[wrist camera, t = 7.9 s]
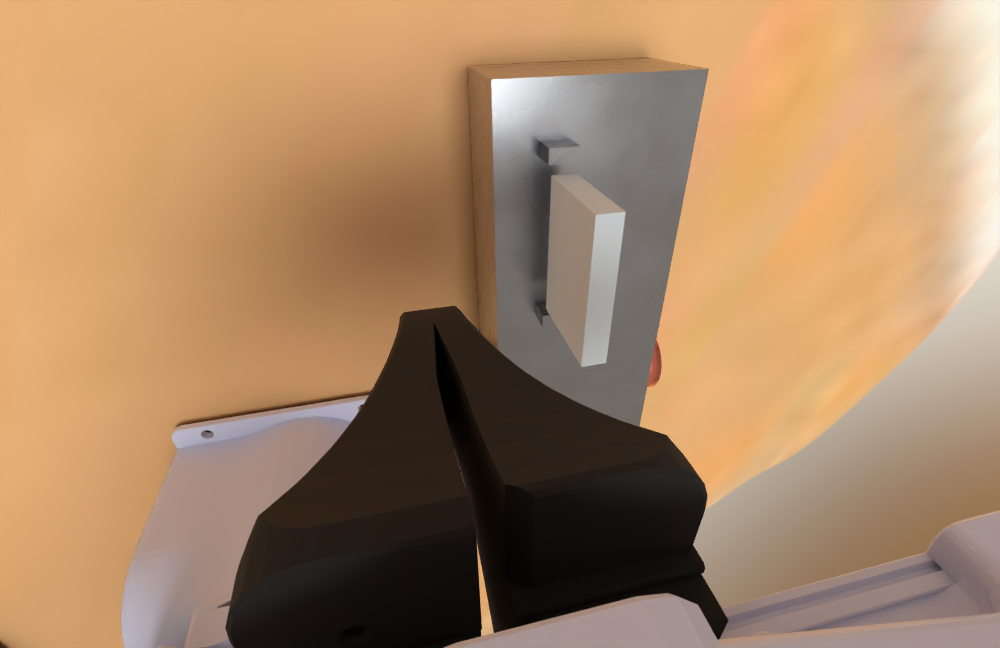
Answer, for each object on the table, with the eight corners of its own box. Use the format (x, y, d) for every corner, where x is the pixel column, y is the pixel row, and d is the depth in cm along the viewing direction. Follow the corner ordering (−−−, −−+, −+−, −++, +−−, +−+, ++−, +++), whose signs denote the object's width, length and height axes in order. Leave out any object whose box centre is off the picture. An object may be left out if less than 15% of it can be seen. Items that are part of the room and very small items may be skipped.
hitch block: (484, 429, 27) (505, 503, 23) (467, 65, 17) (499, 84, 13) (601, 407, 29) (641, 475, 24) (647, 57, 19) (728, 72, 15)
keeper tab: (546, 308, 18) (581, 367, 15) (551, 175, 15) (595, 214, 12) (567, 305, 18) (606, 362, 15) (576, 172, 15) (625, 211, 12)
